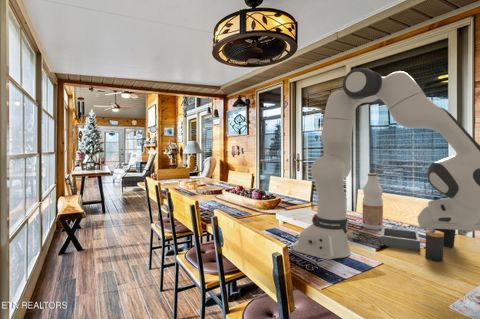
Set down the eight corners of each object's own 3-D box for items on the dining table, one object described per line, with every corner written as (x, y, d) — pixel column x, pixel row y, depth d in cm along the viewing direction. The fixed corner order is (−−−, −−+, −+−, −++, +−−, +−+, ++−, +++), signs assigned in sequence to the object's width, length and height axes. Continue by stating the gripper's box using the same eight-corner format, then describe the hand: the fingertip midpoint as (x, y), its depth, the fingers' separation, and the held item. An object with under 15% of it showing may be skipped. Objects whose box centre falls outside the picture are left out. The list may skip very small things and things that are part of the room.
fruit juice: (370, 230, 136) (371, 174, 135) (358, 225, 145) (359, 173, 144) (386, 229, 138) (387, 174, 137) (373, 224, 147) (374, 172, 146)
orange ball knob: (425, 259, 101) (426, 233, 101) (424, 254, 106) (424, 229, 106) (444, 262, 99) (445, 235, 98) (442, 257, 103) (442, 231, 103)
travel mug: (452, 249, 111) (453, 200, 110) (430, 244, 117) (431, 197, 116) (457, 244, 116) (458, 198, 115) (435, 240, 122) (436, 195, 121)
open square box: (380, 245, 117) (380, 235, 116) (382, 235, 129) (382, 227, 128) (420, 251, 110) (420, 241, 109) (417, 240, 122) (417, 231, 122)
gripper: (498, 202, 84) (477, 225, 94) (423, 200, 88) (411, 222, 98) (508, 221, 79) (485, 242, 89) (429, 217, 84) (416, 238, 94)
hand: (446, 231), depth 94 cm, fingers open, 8 cm apart
